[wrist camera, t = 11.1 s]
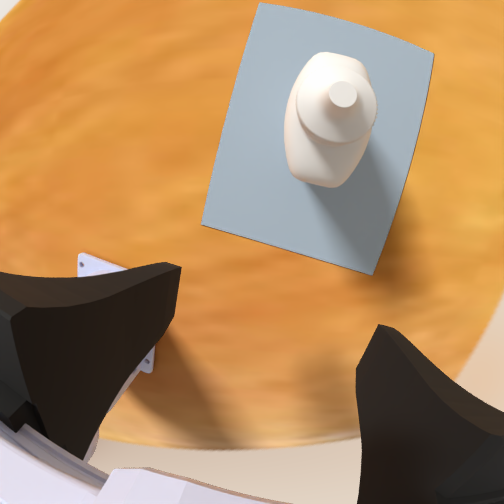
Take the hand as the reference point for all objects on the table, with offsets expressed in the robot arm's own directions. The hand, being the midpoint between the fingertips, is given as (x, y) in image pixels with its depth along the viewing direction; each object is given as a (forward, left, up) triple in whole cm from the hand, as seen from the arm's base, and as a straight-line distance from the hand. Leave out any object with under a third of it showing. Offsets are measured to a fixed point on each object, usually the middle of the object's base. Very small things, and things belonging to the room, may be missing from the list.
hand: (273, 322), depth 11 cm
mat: (+7, 0, -10) cm, 13 cm away
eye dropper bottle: (+7, 0, -10) cm, 13 cm away
